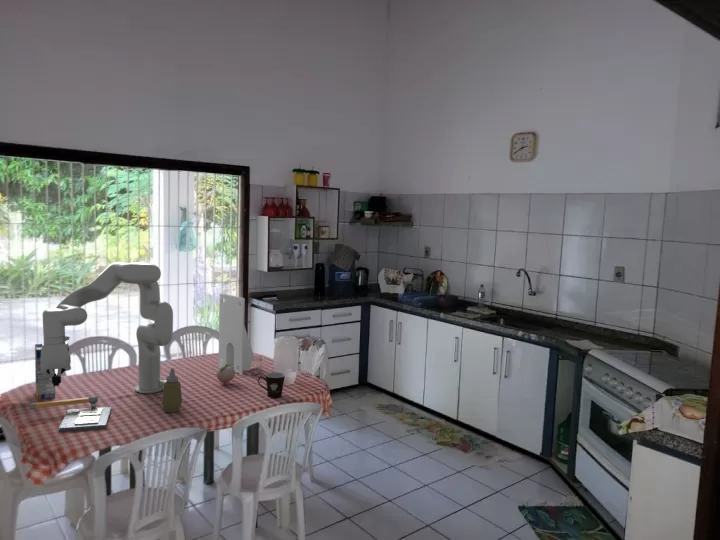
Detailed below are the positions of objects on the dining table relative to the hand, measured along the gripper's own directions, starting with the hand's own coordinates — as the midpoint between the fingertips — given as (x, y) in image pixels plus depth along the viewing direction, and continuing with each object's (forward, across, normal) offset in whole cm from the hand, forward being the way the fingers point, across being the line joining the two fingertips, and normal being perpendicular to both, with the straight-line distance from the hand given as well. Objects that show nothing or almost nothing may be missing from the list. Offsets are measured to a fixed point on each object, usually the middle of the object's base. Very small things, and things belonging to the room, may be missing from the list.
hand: (56, 385), depth 223 cm
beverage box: (+13, +10, -28) cm, 32 cm away
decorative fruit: (+15, -68, -30) cm, 76 cm away
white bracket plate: (+16, -78, -56) cm, 97 cm away
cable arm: (+9, -2, -3) cm, 10 cm away
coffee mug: (+15, -87, -9) cm, 89 cm away
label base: (+13, -11, +6) cm, 18 cm away
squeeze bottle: (+14, -43, +2) cm, 46 cm away
